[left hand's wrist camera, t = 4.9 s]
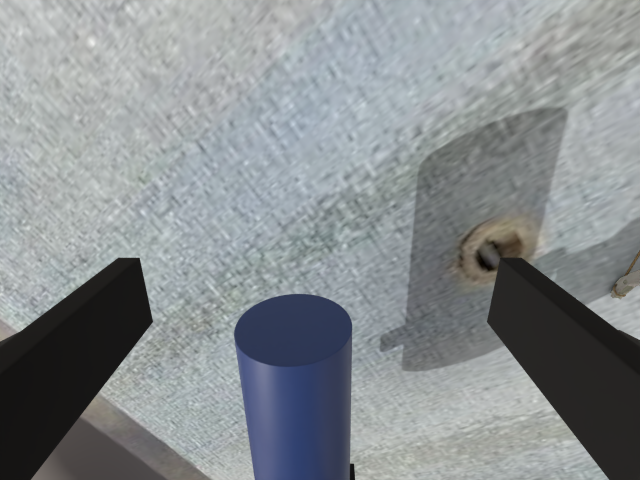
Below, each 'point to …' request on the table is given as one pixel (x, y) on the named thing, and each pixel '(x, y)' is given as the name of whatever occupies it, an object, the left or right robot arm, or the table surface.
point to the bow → (626, 282)
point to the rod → (297, 387)
